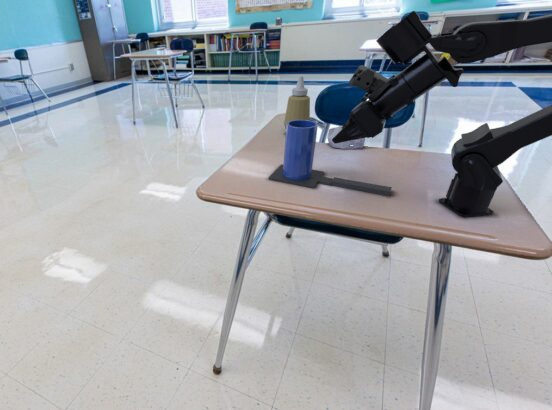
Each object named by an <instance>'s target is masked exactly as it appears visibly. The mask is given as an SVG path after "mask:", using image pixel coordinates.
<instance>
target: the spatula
mask: <svg viewBox="0 0 552 410" xmlns="http://www.w3.org/2000/svg"><path fill="white" fill-rule="evenodd" d="M324 175H325V171H323V170H317V169H312V173H311V177H310V178H308V179H306V180H292V179H288V178H286V177H285V176H284V175H283V163H282V164H280V165H279V166H278V167H277V168H276V169H275V170H274V171H273V172H272V173H271V174H270V175H269V176H268V180H270V181H274V182H280V183H285V184H290V185H295V186H300V187H305V188H310V189H315V188H316V187H317V185H318V184H320V185H325V186H331V187H332V186H333V187H338V188H343V189H349V190H353V191H360V192H364V193H370V194H375V195H381V196H385V197H390V196H391V192H392V188H393V187H392V186H387V185H382V184H375V183H369V182H364V181H358V180H352V179H348V178H343V177H333V178H332V177H327V176H324Z"/></svg>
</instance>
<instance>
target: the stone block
mask: <svg viewBox="0 0 552 410" xmlns="http://www.w3.org/2000/svg"><path fill="white" fill-rule="evenodd" d="M342 126H343V125H341V126H340V125H339V126H336V127H331V128H328V131H327V137H326V138H327V141H328V145H329V146H330V147H332V148H335V149H336V148H337V149H341V150H362V149H364V146H365V141H366V138H362V139H356V140H351V141H346V142H341V143H336V144H335V143H334V142H333V141H332V139H333V138H334V137H335V136H336V135H337V134H338V133H339V132H340V131H341V130H342ZM350 145H353V146H350Z"/></svg>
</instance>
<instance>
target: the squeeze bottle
mask: <svg viewBox="0 0 552 410" xmlns="http://www.w3.org/2000/svg"><path fill="white" fill-rule="evenodd" d="M310 109H311V97H310V96H309V95H308V88H306V87H305V81H304V76H303V75H300V76H298V80H297V82H296V86H295V87H293V88H292V89H291V95H290V96H288V99H287V104H286V110H285V116H284V121H283V124H284V125H283V126H284V129H285V130H286V125H287V122H289V121H293V120H310V121H311V116H310V115H311V113H310V112H311V110H310Z"/></svg>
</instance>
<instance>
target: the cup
mask: <svg viewBox="0 0 552 410" xmlns="http://www.w3.org/2000/svg"><path fill="white" fill-rule="evenodd" d="M318 126H319V125H318V122H317V121H313V120H311V119H310V120H293V121H289V122H287V125H286V129H285V137H284V138H285V140H284V150H283V151H284V152H283V154H284V155H283V163H282V164H283V175H284V176H285V177H286V178H288V179H292V180H306V179H308V178H310V177H311V173H312V170H313V166H314V157H315V152H316V151H315V150H316V143H317V142H316V141H317V133H318V128H319V127H318Z"/></svg>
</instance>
